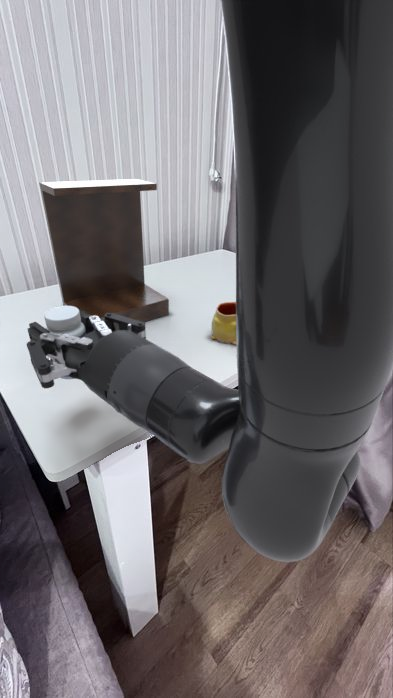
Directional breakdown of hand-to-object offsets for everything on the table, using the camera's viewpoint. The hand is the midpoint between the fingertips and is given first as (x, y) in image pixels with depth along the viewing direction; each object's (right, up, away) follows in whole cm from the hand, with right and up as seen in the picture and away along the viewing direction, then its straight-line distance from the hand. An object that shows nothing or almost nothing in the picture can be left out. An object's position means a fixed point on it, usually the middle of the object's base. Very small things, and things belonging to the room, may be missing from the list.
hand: (54, 322), depth 42 cm
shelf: (0, +4, +34) cm, 34 cm away
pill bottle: (+2, -6, +2) cm, 7 cm away
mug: (+26, 0, +30) cm, 40 cm away
